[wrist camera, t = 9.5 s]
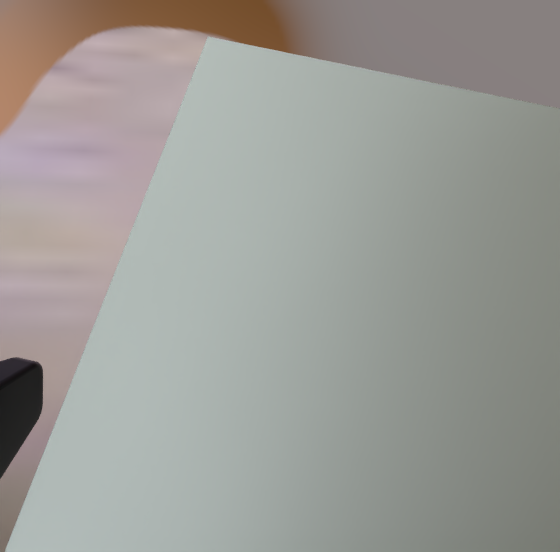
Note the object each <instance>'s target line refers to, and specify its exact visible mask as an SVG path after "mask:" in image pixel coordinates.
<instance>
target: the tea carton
mask: <svg viewBox="0 0 560 552" xmlns="http://www.w3.org/2000/svg"><path fill="white" fill-rule="evenodd" d="M5 552H560V109H559V108H554V107H550V106H545V105H540V104H535V103H530V102H525V101H520V100H515V99H510V98H505V97H501V96H496V95H491V94H486V93H481V92H476V91H472V90H467V89H461V88H457V87H452V86H447V85H442V84H437V83H432V82H427V81H423V80H418V79H412V78H408V77H403V76H398V75H393V74H388V73H383V72H378V71H373V70H368V69H364V68H359V67H354V66H349V65H344V64H339V63H334V62H329V61H324V60H320V59H315V58H310V57H305V56H300V55H295V54H290V53H285V52H280V51H276V50H271V49H265V48H261V47H256V46H251V45H246V44H241V43H236V42H231V41H227V40H222V39H217V38H212V37H208V38H207V40H206V43H205V46H204V48H203V51H202V53H201V56H200V58H199V61H198V63H197V66H196V68H195V71H194V73H193V76H192V78H191V81H190V84H189V86H188V89H187V91H186V94H185V96H184V99H183V101H182V104H181V106H180V109H179V111H178V114H177V116H176V119H175V122H174V124H173V127H172V129H171V132H170V134H169V137H168V139H167V142H166V144H165V147H164V149H163V152H162V154H161V157H160V159H159V162H158V165H157V167H156V170H155V172H154V175H153V177H152V180H151V182H150V185H149V187H148V190H147V192H146V195H145V197H144V200H143V203H142V205H141V208H140V210H139V213H138V215H137V218H136V220H135V223H134V225H133V228H132V230H131V233H130V235H129V238H128V241H127V243H126V246H125V248H124V251H123V253H122V256H121V258H120V261H119V263H118V266H117V268H116V271H115V273H114V276H113V279H112V281H111V284H110V286H109V289H108V291H107V294H106V296H105V299H104V301H103V304H102V306H101V309H100V311H99V314H98V316H97V319H96V322H95V324H94V327H93V329H92V332H91V334H90V337H89V339H88V342H87V344H86V347H85V349H84V352H83V354H82V357H81V360H80V362H79V365H78V367H77V370H76V372H75V375H74V377H73V380H72V382H71V385H70V387H69V390H68V392H67V395H66V398H65V400H64V403H63V405H62V408H61V410H60V413H59V415H58V418H57V420H56V423H55V425H54V428H53V430H52V433H51V436H50V438H49V441H48V443H47V446H46V448H45V451H44V453H43V456H42V458H41V461H40V463H39V466H38V468H37V471H36V473H35V476H34V479H33V481H32V484H31V486H30V489H29V491H28V494H27V496H26V499H25V501H24V504H23V506H22V509H21V511H20V514H19V517H18V519H17V522H16V524H15V527H14V529H13V532H12V534H11V537H10V539H9V542H8V544H7V547H6V549H5Z"/></svg>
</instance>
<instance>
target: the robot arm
mask: <svg viewBox="0 0 560 552" xmlns="http://www.w3.org/2000/svg"><path fill="white" fill-rule="evenodd" d="M42 405H43V369H42V366H41V365H40V364H39V363H38V362H35V361H31V360H27V359H22V358H17V357H15V358H10V359H7V360H3V361H0V479H1V477H2V476H3V474H4V472H5V471H6V469H7V468H8V466H9V465H10V463H11V461H12V460H13V458H14V457H15V455H16V454H17V452H18V450H19V449H20V447H21V446H22V444H23V443H24V441H25V439H26V438H27V436H28V435H29V433H30V432H31V430H32V428H33V427H34V425H35V424H36V422H37V420H38V419H39V416H40V414H41V411H42Z"/></svg>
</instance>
